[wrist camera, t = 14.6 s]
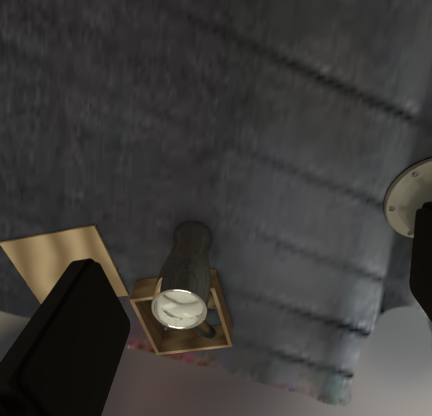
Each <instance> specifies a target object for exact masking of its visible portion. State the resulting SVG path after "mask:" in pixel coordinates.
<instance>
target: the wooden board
mask: <svg viewBox="0 0 432 416" xmlns="http://www.w3.org/2000/svg"><path fill="white" fill-rule="evenodd" d="M0 245H1V246H2V248H3V249H4V251H5V252H6V254H7V255H8V257H9V258H10V260H11V261H12V262H13V264H14V265H15V267H16V268H17V270H18V271H19V273H20V274H21V276H22V277H23V278H24V280H25V281H26V283H27V284H28V286H29V287H30V289H31V290H32V291H33V293H34V294H35V296H36V297H37V299H38V300H39V302H40V303H41V304H42V303H43V301H44V300H45V298H46V297H47V295H48V294H49V293H50V291H51V290H52V288H53V287H54V286H55V284H56V283H57V281H58V280H59V278H60V277H61V276H62V274H63V273H64V271H65V270H66V268H67V267H68V266H69V264H70V263H71V262H72V261H76V260H82V259H88V258H91V259H93V260H94V261H95V262H99V263H100V264H101V266H102V268H103V270H104V272H105V274H106V276H107V278H108V280H109V282H110V284H111V285H112V287H113V289H114V291H115V293H116V295H117V297H120V296H127V295H129V292H128V290H127V288H126V286H125V284H124V282H123V280H122V278H121V276H120V274H119V271H118V269H117V267H116V265H115V263H114V261H113V259H112V257H111V255H110V253H109V251H108V249H107V247H106V245H105V243H104V241H103V239H102V237H101V235H100V233H99V231H98V229H97V227H96V224H93V225H88V226H83V227H77V228H72V229H66V230H61V231H55V232H50V233H45V234H39V235H34V236H28V237H23V238H17V239H12V240H6V241H1V242H0Z"/></svg>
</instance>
